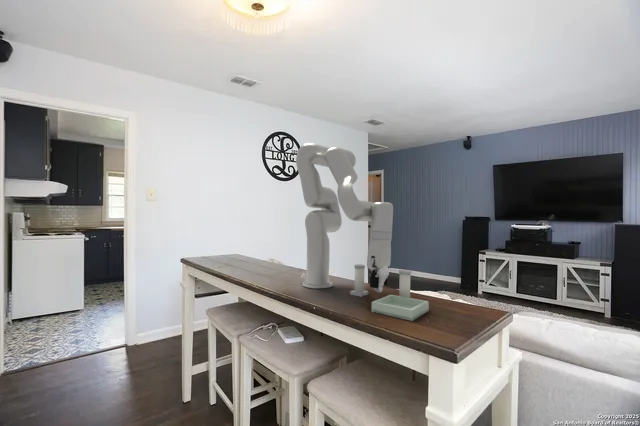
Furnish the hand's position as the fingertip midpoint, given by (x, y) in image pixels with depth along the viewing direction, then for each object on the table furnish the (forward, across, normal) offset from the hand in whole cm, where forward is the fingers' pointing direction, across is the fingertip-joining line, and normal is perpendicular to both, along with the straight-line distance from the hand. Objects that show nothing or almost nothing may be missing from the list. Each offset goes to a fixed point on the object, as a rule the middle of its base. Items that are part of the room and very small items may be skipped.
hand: (378, 285), depth 115 cm
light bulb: (+3, 0, 0) cm, 3 cm away
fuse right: (+4, 0, +10) cm, 11 cm away
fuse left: (+5, 0, -8) cm, 9 cm away
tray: (+4, +10, +13) cm, 17 cm away
